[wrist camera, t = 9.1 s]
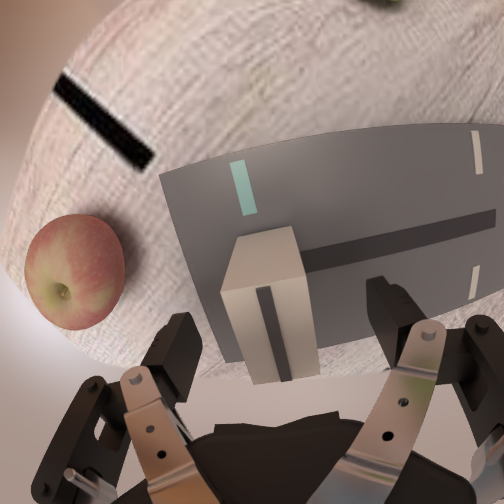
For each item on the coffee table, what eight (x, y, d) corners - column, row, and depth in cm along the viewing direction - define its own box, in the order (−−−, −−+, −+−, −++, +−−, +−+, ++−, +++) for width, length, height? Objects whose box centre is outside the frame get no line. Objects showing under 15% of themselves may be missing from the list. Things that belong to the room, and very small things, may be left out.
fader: (291, 225, 15) (306, 277, 9) (306, 302, 16) (320, 376, 11) (237, 237, 15) (219, 294, 9) (258, 311, 17) (253, 387, 11)
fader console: (502, 125, 13) (525, 127, 10) (501, 267, 18) (519, 281, 15) (175, 170, 17) (158, 175, 14) (230, 338, 22) (225, 363, 19)
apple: (131, 306, 22) (86, 368, 14) (65, 265, 21) (9, 309, 13) (158, 228, 19) (100, 278, 11) (81, 185, 18) (8, 212, 10)
